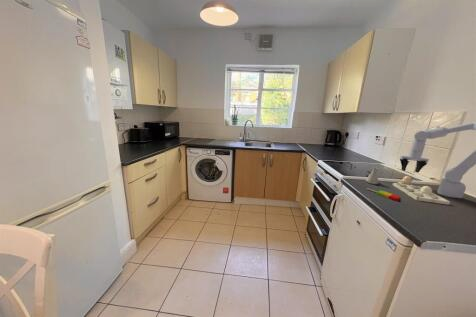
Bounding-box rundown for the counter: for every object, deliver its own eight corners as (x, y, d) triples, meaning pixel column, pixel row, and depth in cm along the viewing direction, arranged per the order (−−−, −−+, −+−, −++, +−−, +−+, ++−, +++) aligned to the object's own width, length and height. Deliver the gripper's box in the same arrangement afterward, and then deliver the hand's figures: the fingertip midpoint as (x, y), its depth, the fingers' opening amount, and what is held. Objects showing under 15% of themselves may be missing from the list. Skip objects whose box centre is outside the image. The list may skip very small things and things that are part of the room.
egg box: (418, 189, 113) (419, 186, 113) (448, 205, 93) (450, 201, 93) (391, 186, 116) (392, 182, 115) (416, 201, 96) (417, 197, 95)
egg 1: (407, 183, 122) (409, 175, 120) (412, 185, 117) (414, 177, 116) (399, 182, 122) (402, 174, 121) (404, 184, 118) (406, 176, 117)
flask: (381, 185, 115) (385, 170, 113) (368, 183, 116) (372, 168, 114) (375, 181, 122) (379, 167, 120) (363, 180, 123) (367, 165, 121)
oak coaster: (408, 183, 123) (408, 182, 123) (416, 188, 116) (417, 187, 115) (394, 181, 125) (395, 180, 124) (402, 186, 117) (402, 185, 117)
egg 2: (426, 193, 106) (429, 185, 104) (432, 197, 101) (435, 188, 100) (417, 192, 106) (420, 184, 105) (422, 195, 102) (426, 187, 101)
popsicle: (396, 202, 94) (397, 198, 93) (364, 190, 105) (364, 187, 105) (400, 200, 97) (401, 196, 96) (368, 189, 109) (369, 186, 108)
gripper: (425, 150, 117) (418, 171, 120) (399, 148, 119) (393, 168, 123) (434, 152, 110) (426, 174, 114) (406, 150, 113) (400, 171, 116)
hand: (409, 171), depth 118 cm, fingers open, 7 cm apart
